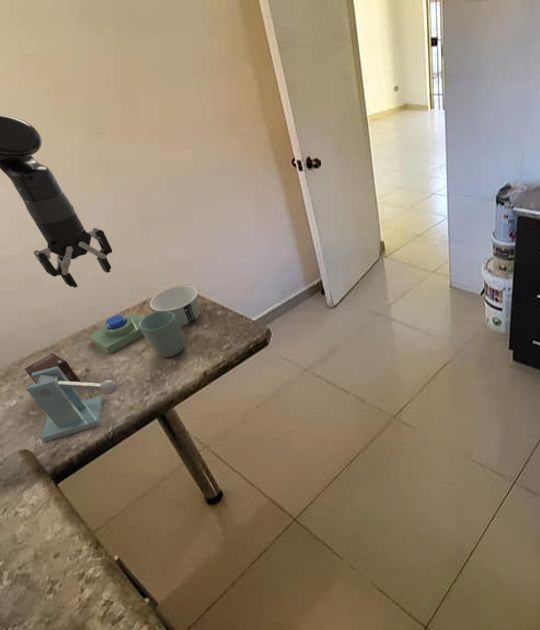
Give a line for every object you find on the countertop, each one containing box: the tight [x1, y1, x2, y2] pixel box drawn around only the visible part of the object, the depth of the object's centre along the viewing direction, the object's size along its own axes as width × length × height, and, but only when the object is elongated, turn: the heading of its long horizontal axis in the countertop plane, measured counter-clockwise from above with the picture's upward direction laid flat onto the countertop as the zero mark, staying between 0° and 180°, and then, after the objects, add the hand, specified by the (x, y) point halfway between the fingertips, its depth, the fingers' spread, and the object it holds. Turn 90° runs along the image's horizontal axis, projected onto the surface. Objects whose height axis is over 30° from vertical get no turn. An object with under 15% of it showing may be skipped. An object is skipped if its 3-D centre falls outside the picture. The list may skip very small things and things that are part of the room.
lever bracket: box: [25, 366, 105, 443], centre depth 89 cm, size 10×8×13 cm
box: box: [24, 352, 82, 384], centre depth 99 cm, size 6×6×7 cm
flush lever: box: [38, 375, 118, 396], centre depth 89 cm, size 13×3×3 cm
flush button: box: [105, 314, 126, 329], centre depth 113 cm, size 4×4×2 cm
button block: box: [88, 312, 144, 355], centre depth 114 cm, size 12×9×4 cm
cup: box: [139, 311, 186, 358], centre depth 107 cm, size 8×8×10 cm
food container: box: [149, 285, 201, 327], centre depth 120 cm, size 12×12×6 cm
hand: (91, 278), depth 105 cm, fingers open, 7 cm apart
